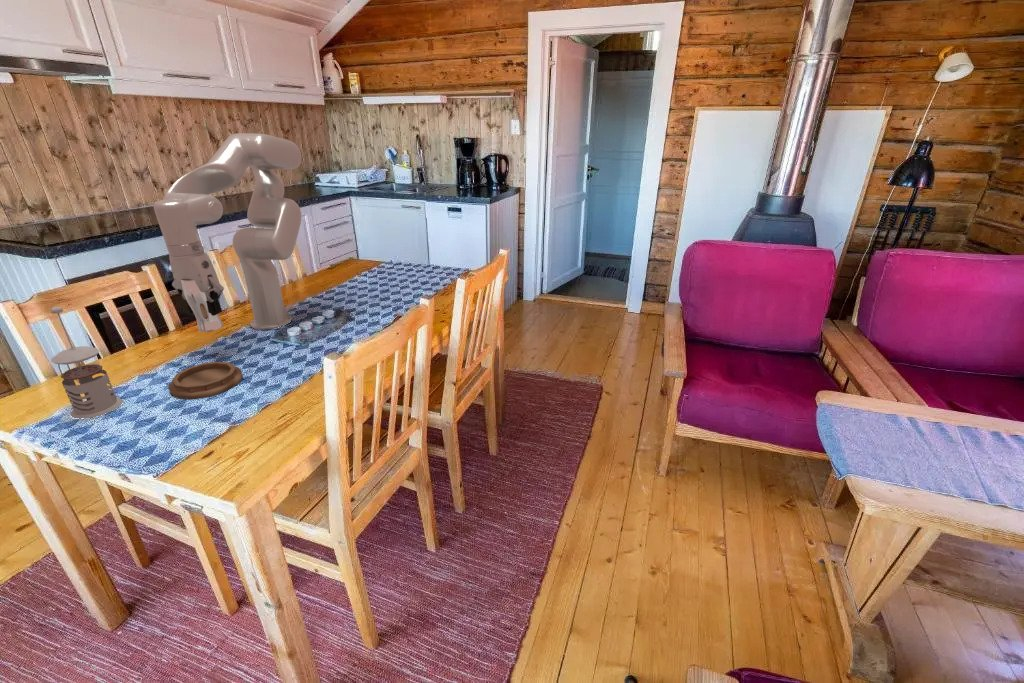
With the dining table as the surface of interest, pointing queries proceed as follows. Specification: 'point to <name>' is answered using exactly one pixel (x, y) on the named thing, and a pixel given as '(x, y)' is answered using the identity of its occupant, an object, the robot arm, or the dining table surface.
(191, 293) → the beer glass
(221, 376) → the round tray
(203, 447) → the dining table surface
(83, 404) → the french press
